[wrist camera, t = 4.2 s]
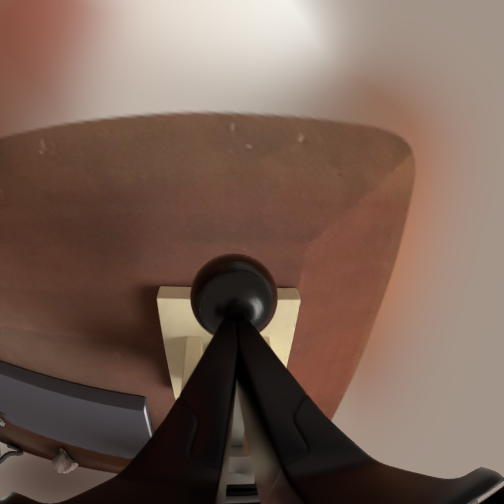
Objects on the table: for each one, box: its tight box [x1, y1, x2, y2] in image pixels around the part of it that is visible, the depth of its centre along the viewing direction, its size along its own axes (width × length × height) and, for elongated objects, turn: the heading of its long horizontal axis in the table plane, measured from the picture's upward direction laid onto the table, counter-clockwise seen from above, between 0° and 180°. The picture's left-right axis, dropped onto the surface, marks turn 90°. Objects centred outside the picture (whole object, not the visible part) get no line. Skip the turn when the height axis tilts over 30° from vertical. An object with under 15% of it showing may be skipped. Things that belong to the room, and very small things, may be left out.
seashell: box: [52, 448, 78, 473], centre depth 29 cm, size 4×8×4 cm, turn 133°
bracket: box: [157, 286, 300, 400], centre depth 15 cm, size 10×8×10 cm
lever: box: [190, 254, 278, 484], centre depth 11 cm, size 12×3×3 cm, turn 176°
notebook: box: [0, 361, 154, 459], centre depth 23 cm, size 13×2×21 cm
